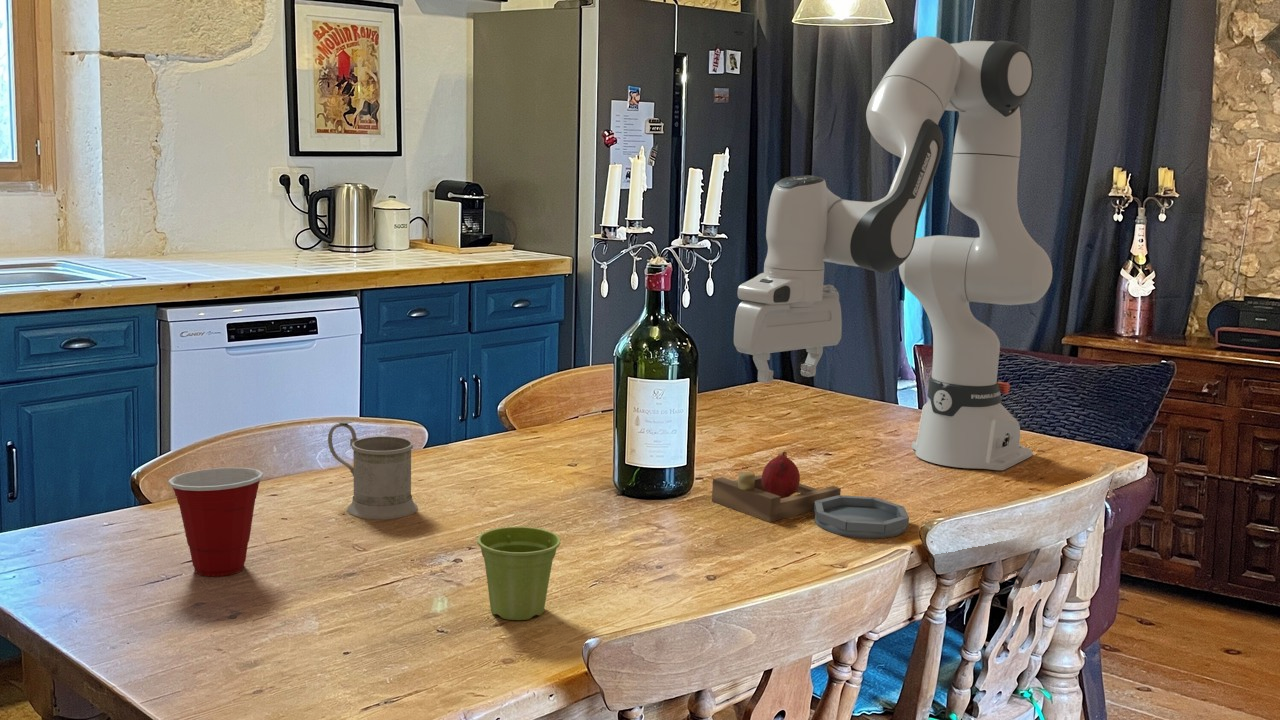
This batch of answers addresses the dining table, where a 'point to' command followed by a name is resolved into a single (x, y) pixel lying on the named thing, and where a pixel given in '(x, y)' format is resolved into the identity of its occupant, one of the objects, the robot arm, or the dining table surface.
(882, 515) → the saucer
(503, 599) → the plant pot
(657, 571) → the dining table surface
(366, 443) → the mug
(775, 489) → the onion
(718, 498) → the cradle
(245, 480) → the plastic cup
